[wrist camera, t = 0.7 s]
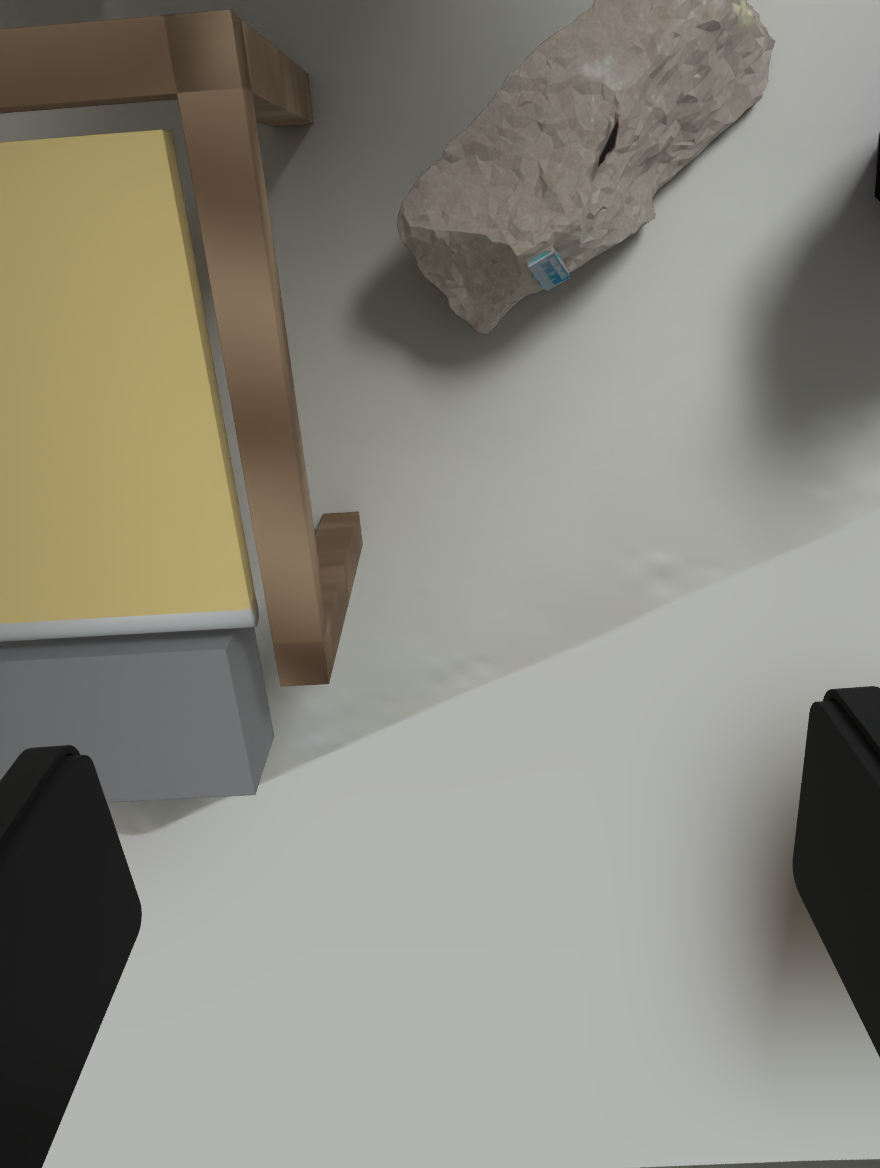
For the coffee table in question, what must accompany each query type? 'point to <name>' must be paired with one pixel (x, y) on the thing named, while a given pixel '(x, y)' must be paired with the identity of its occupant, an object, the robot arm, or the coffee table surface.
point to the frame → (223, 271)
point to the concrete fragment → (580, 147)
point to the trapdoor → (118, 483)
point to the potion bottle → (878, 176)
